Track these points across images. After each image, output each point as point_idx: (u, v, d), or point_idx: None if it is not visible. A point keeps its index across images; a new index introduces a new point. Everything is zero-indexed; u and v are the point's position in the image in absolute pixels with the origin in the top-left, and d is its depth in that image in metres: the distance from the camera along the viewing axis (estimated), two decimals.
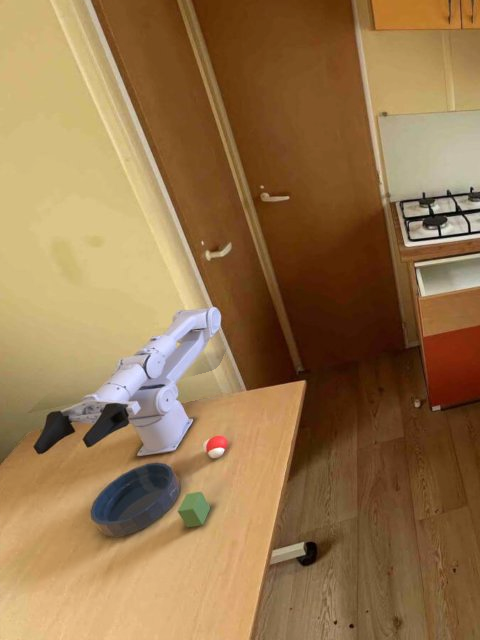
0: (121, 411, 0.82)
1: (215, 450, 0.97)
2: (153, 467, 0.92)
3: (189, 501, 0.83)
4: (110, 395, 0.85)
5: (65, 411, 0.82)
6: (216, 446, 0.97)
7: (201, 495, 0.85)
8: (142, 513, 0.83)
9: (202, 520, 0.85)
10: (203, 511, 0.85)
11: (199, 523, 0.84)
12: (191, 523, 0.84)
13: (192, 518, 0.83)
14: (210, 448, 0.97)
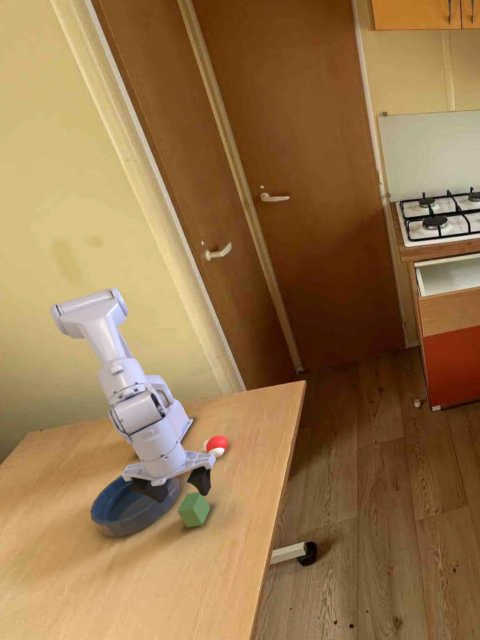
0: (205, 472, 0.79)
1: (215, 450, 0.97)
2: None
3: (189, 501, 0.83)
4: (170, 466, 0.76)
5: None
6: (216, 446, 0.97)
7: (201, 495, 0.85)
8: (142, 513, 0.83)
9: (202, 520, 0.85)
10: (203, 511, 0.85)
11: (199, 523, 0.84)
12: (191, 523, 0.84)
13: (192, 518, 0.83)
14: (210, 448, 0.97)
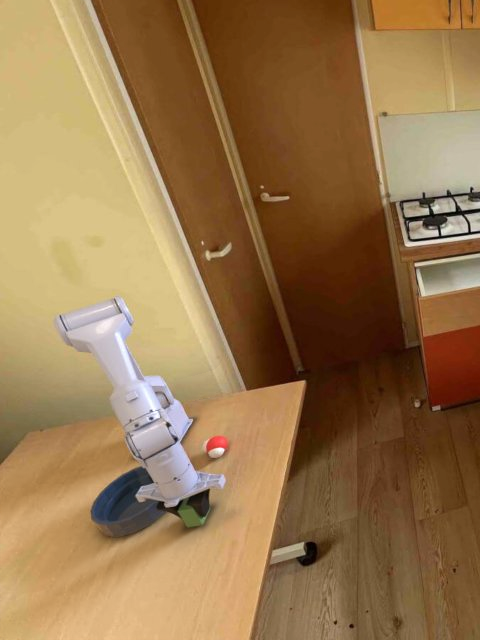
0: None
1: (215, 450, 0.97)
2: None
3: None
4: (182, 488, 0.79)
5: None
6: (216, 446, 0.97)
7: None
8: (142, 513, 0.83)
9: (202, 520, 0.85)
10: None
11: (199, 523, 0.84)
12: (191, 523, 0.84)
13: (192, 518, 0.83)
14: (210, 448, 0.97)
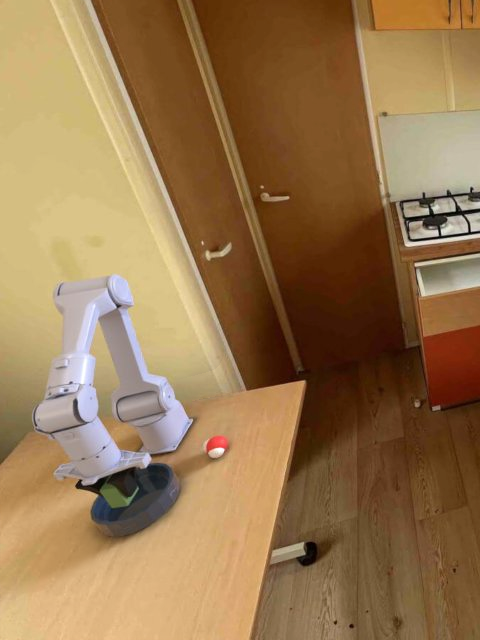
0: (127, 473, 0.79)
1: (215, 450, 0.97)
2: (153, 467, 0.92)
3: None
4: (102, 466, 0.76)
5: None
6: (216, 446, 0.97)
7: None
8: (142, 513, 0.83)
9: (128, 500, 0.82)
10: None
11: (124, 503, 0.81)
12: (115, 503, 0.81)
13: (116, 498, 0.80)
14: (210, 448, 0.97)
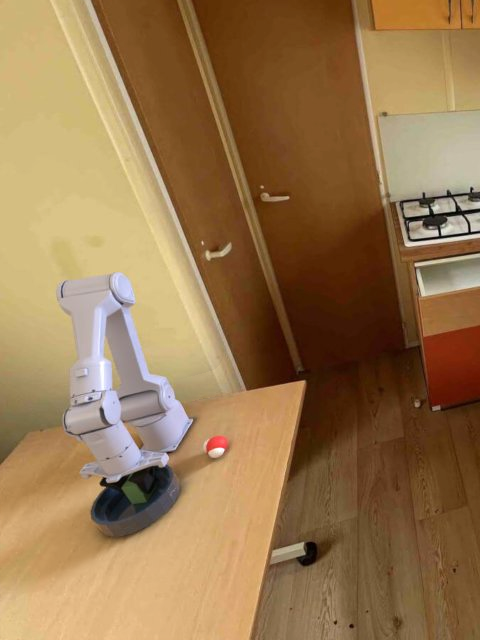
0: (147, 472, 0.86)
1: (215, 450, 0.97)
2: None
3: None
4: (124, 465, 0.82)
5: None
6: (216, 446, 0.97)
7: None
8: (142, 513, 0.83)
9: (147, 497, 0.88)
10: None
11: (144, 500, 0.88)
12: (136, 500, 0.87)
13: (136, 495, 0.87)
14: (210, 448, 0.97)
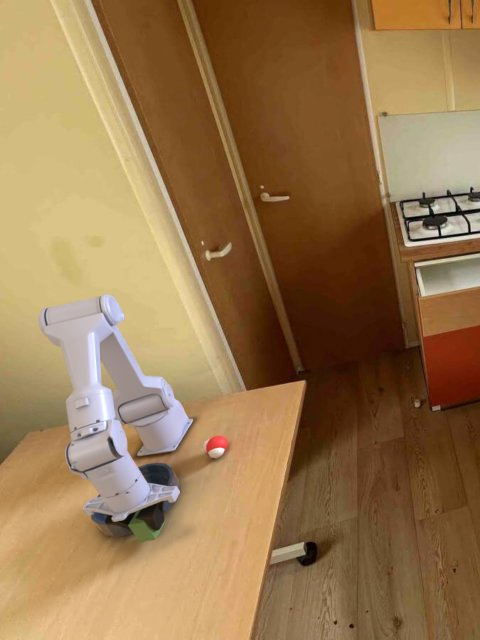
0: (156, 508, 0.79)
1: (215, 450, 0.97)
2: (153, 467, 0.92)
3: None
4: (131, 501, 0.75)
5: None
6: (216, 446, 0.97)
7: None
8: None
9: (156, 534, 0.81)
10: None
11: (152, 537, 0.81)
12: (143, 537, 0.80)
13: (144, 532, 0.80)
14: (210, 448, 0.97)
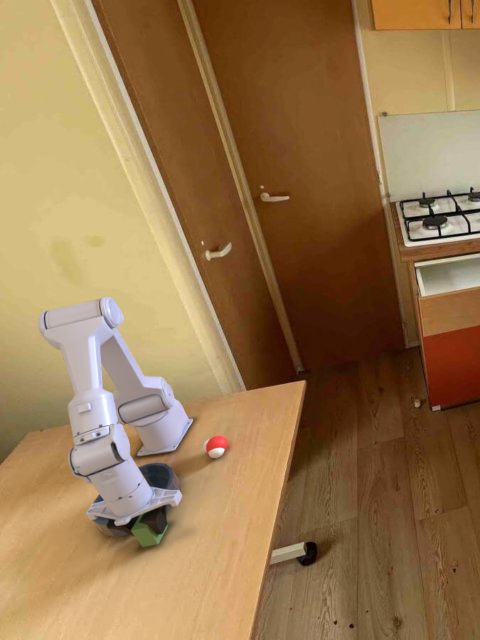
0: (159, 511, 0.79)
1: (215, 450, 0.97)
2: (153, 467, 0.92)
3: None
4: (134, 505, 0.76)
5: None
6: (216, 446, 0.97)
7: None
8: None
9: (158, 539, 0.81)
10: None
11: (155, 542, 0.81)
12: (146, 542, 0.81)
13: (147, 537, 0.80)
14: (210, 448, 0.97)
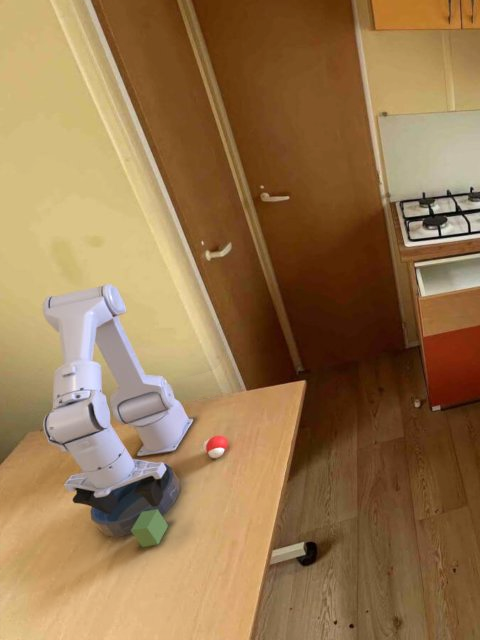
0: (154, 482, 0.76)
1: (215, 450, 0.97)
2: None
3: (143, 520, 0.80)
4: (115, 476, 0.72)
5: None
6: (216, 446, 0.97)
7: (157, 513, 0.82)
8: None
9: (158, 539, 0.81)
10: (159, 529, 0.82)
11: (155, 542, 0.81)
12: (146, 542, 0.81)
13: (147, 537, 0.80)
14: (210, 448, 0.97)
